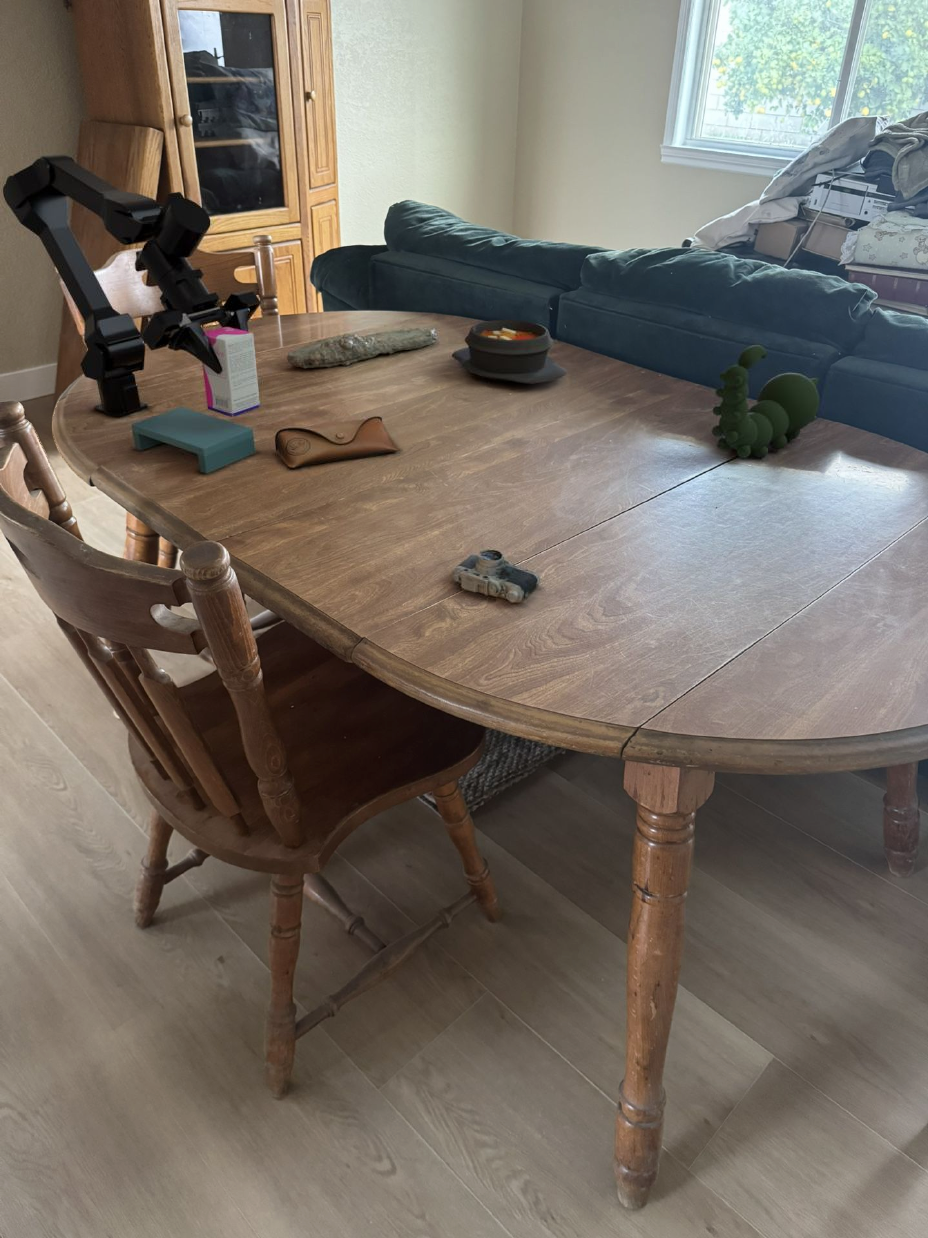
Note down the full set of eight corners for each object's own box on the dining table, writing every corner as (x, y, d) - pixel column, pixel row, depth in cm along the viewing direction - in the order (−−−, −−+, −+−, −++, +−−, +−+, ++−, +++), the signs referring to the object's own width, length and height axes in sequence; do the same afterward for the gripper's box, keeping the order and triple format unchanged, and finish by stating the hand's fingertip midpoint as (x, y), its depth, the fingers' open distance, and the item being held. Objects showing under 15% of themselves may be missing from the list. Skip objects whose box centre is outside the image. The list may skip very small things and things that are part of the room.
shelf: (135, 448, 141) (130, 424, 139) (185, 429, 148) (181, 406, 146) (206, 473, 134) (203, 448, 132) (255, 453, 141) (253, 428, 139)
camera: (521, 609, 104) (522, 578, 102) (446, 583, 109) (446, 553, 107) (542, 590, 108) (544, 560, 106) (469, 566, 113) (469, 536, 110)
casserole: (587, 379, 175) (591, 335, 170) (518, 400, 164) (520, 353, 160) (498, 349, 190) (500, 308, 186) (430, 366, 180) (430, 323, 175)
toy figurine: (741, 483, 139) (833, 434, 152) (758, 363, 128) (857, 320, 141) (692, 464, 145) (785, 417, 158) (704, 348, 134) (803, 307, 147)
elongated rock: (448, 352, 192) (419, 343, 198) (448, 326, 189) (420, 318, 196) (304, 374, 172) (277, 363, 178) (302, 345, 169) (275, 336, 176)
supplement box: (261, 407, 139) (254, 331, 133) (232, 418, 135) (223, 341, 129) (235, 398, 142) (227, 324, 136) (206, 409, 138) (196, 333, 132)
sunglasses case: (291, 468, 135) (281, 423, 134) (281, 475, 141) (271, 433, 141) (402, 450, 142) (393, 407, 141) (388, 457, 148) (379, 417, 148)
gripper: (203, 298, 146) (258, 381, 147) (104, 322, 133) (165, 412, 134) (232, 254, 138) (290, 341, 139) (130, 275, 125) (194, 371, 126)
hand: (236, 367), depth 134 cm, fingers closed on supplement box, 6 cm apart
